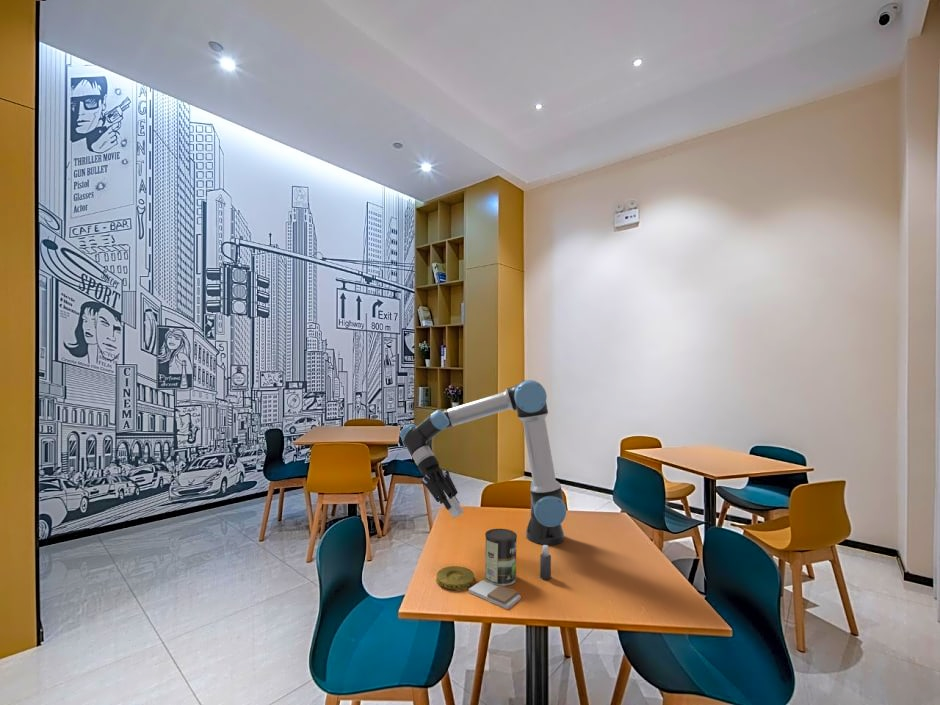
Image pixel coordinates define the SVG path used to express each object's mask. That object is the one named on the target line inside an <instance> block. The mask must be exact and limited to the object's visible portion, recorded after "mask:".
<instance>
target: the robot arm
mask: <svg viewBox="0 0 940 705" xmlns="http://www.w3.org/2000/svg"><path fill="white" fill-rule="evenodd" d="M547 396H548V395H547V392H546V389H545V388H544V386H543V385H542V384H541V383H539V382H538V381H536V380H532V379H531V380H530V379H529V380H523V381H521V382H519V383H517V384H515V385H512V386H510V387H508V388H507V387H506V388H505V390H504V391H502V392H499V393H496V394H493V395H490V396H487V397H482V398H480V399H476V400H473V401H470V402H467V403H463V404H460V405H457V406H454V407H451V408H448V409H444V410H441V409H436V410H435V411H433V412H432V413H431V414H430V415H429V416H427V417H426V418H425V419H424V420H422V422H420V423H419V424H418V425H416V424H413V423H411V424H408V425H407V426H404V427H403V428H401V431H400V433H399V436H400V438H401V440H402V442H403V445H404V446H405V448H406V449H407V451H408V452H409V455H410V456H411V458H412V459H413V460H414V463H415V465H416V466H417V469H418V470H419V472H420V473H421V475H422V476H424V477H423V478H422V479H421V480H420V481H421V483H422V485H424V487H426V488H427V490H428V491H429V493H430V494H431V496H432V497H433V498H434V500H435V501H436V503H439V504H441V505H443V506H444V507H445V509H446V510H447V511H448V512H449V514H450V516H451V517H452V519H455V518H457V517H461V515H462V514H463V513H464V512H465V511H464V509H463V508H462V507H461V504H460V501H459V500H458V498H457V497H456V496H457V494H458V490H457V488H456V486H455V483H454V482H453V480H452V478H451V476H450V472H449V471H448V470H446V471H443V469H442V468H441V467H440V463H439V461H438V459H437V457H436V456H435V454H434V453H433V450H432V449H431V448H430V446H429V445H428V442H429V441H431V440H432V439H433V438H434V437H435V436H437V435H439V434H440V433H441V432H442V431H444V430H445V429H448V428H451V427H456V426H458V425H461V424H465V423H469V422H471V421H476V420H478V419H481V418H485V417H488V416H491V415H495V414H498V413H502V412H505V411H508V410H510V411H516V413H517V419H519V420H520V421H521V422H522V424H523V429H524V430H523V431H524V436H525V443H526V448H527V449H526V450H527V455H528V461H529V466H530V472H531V478H532V481H531V483H530V489H529V490H530V518H529V521H528V525H527V527H526V531H525V532H526V533H525V536H526V537H525V538H526V539H527V540H529V541H531V542H533V543H536V544H540V545H548V546H549V545H550V546H551V545H558V544H561V543H562V542H563V541H564V539H565V535H564V530H563V526H562V523H563V522H564V520H565V519H566V516H567V506H566V503H565V500H564V497H563V496H564V495H563V491H562V486H561V485H562V484H561V483H560V482H559V481H558V480H556V473H555V468H554V463H553V462H554V461H553V456H552V451H551V446H550V439H549V434H548V428H547V422H546V417H547V416H548V414H549V410H548V405H547V404H548V403H547Z"/></svg>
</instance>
